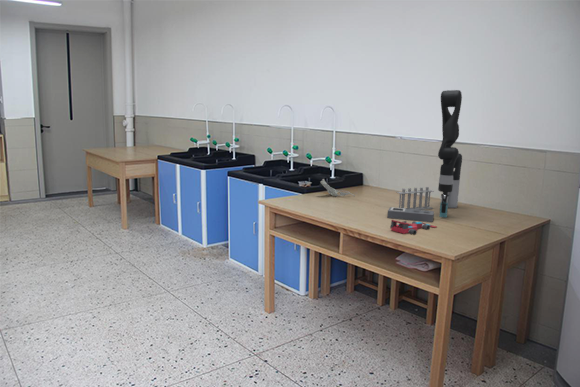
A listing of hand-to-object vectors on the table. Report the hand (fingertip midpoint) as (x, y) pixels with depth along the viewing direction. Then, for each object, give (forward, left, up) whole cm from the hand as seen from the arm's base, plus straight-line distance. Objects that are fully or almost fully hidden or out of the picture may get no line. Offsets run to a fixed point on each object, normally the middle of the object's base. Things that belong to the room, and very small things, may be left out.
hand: (443, 211), depth 272 cm
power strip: (+12, -17, -3) cm, 21 cm away
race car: (+36, -13, -4) cm, 38 cm away
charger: (0, 0, -3) cm, 3 cm away
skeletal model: (-33, -71, -3) cm, 78 cm away
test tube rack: (-12, -17, -3) cm, 21 cm away
